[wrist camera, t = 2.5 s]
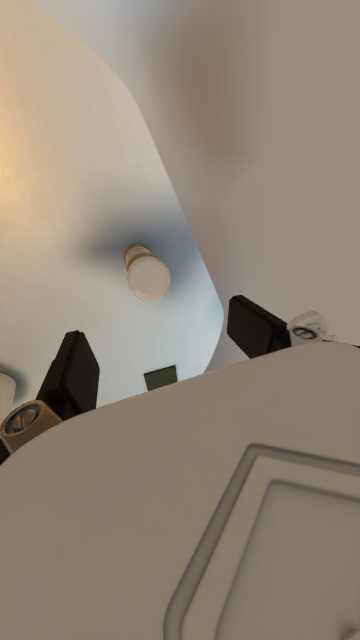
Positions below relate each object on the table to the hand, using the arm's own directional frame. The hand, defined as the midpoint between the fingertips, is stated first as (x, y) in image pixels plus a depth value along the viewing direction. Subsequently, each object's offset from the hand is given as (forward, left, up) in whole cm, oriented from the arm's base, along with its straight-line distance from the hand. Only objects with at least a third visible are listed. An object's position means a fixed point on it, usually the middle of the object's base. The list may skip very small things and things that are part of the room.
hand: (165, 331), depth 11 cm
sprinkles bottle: (0, 0, -22) cm, 22 cm away
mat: (0, +31, -22) cm, 38 cm away
